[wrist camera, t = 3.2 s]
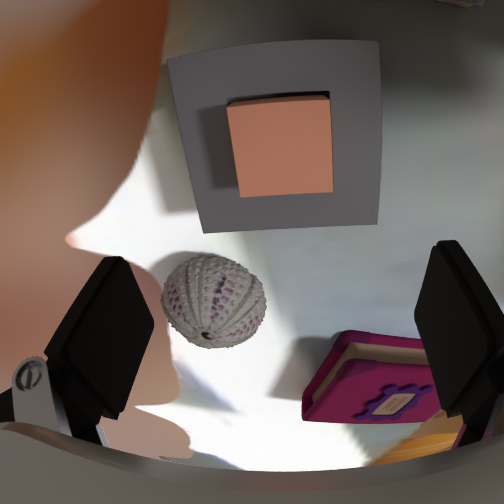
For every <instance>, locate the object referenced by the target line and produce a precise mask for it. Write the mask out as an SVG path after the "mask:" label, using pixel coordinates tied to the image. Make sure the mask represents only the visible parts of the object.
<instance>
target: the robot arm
mask: <svg viewBox="0 0 504 504" xmlns="http://www.w3.org/2000/svg"><path fill="white" fill-rule="evenodd" d="M414 319H415V323H416V326H417V329H418V332H419V334H420V337H421V340H422V344H423V347H424V350H425V353H426V356H427V359H428V363H429V366H430V369H431V373H432V376H433V380H434V383H435V387H436V391H437V395H438V398H439V402H440V406H441V408H442V409H443V410H446V413H447V417H448V418H450V417H454V416H458V415H462V418H463V422H464V423H463V425H462V427H461V430H460V432H459V434H458V436H457V438H456V440H455V442H454V444H453V446H452V448H451V450H448V451H444V452H440V453H436V454H431V455H427V456H423V457H418V458H414V459H409V460H404V461H398V462H393V463H387V464H380V465H374V466H366V467H358V468H349V469H338V470H324V471H301V472H267V471H244V470H230V469H219V468H210V467H202V466H194V465H187V464H181V463H175V462H169V461H163V460H158V459H153V458H148V457H143V456H139V455H135V454H131V453H126V452H122V451H119V450H115V449H111V448H110V447H109V444H108V442H107V439H106V437H105V434H104V431H103V429H102V426H101V423H100V418H101V416H103V417H106V418H110V419H114V420H117V419H118V416H119V413H121V412H123V410H124V409H125V406H126V403H127V400H128V397H129V394H130V391H131V389H132V386H133V383H134V380H135V377H136V375H137V372H138V369H139V366H140V364H141V361H142V358H143V355H144V353H145V350H146V347H147V345H148V342H149V340H150V337H151V334H152V332H153V329H154V320H153V317H152V315H151V313H150V311H149V308H148V306H147V304H146V302H145V300H144V297H143V295H142V293H141V291H140V288H139V286H138V284H137V281H136V279H135V277H134V274H133V272H132V270H131V267H130V265H129V263H128V262H127V261H126V260H124V258H123V257H121V256H112V257H104V259H102V261H101V262H100V264H99V265H98V266H97V268H96V269H95V271H94V272H93V274H92V275H91V276H90V278H89V280H88V281H87V283H86V284H85V286H84V287H83V288H82V290H81V291H80V293H79V294H78V296H77V298H76V299H75V301H74V302H73V304H72V305H71V307H70V309H69V310H68V312H67V314H66V315H65V317H64V318H63V320H62V322H61V323H60V325H59V326H58V328H57V330H56V332H55V333H54V335H53V337H52V338H51V340H50V342H49V344H48V345H47V347H46V349H45V351H44V353H45V355H46V356H47V357H48V360H47V361H46V362H45V360H44V359H43V358H41V357H38V356H35V357H34V356H33V357H30V358H27V359H26V360H24V361H23V362H21V364H20V365H19V366H18V367H17V368H16V370H15V372H14V374H13V377H12V387H11V388H10V389H8V390H6V391H5V392H3V393H1V394H0V504H504V314H503V312H502V311H501V309H500V307H499V305H498V303H497V302H496V300H495V298H494V297H493V295H492V293H491V292H490V290H489V288H488V287H487V285H486V283H485V282H484V280H483V279H482V277H481V275H480V274H479V272H478V271H477V269H476V268H475V266H474V265H473V263H472V262H471V260H470V259H469V257H468V256H467V254H466V253H465V251H464V250H463V248H462V247H461V246H460V244H459V243H458V242H457V241H456V240H443V241H438V243H437V245H436V246H433V247H432V250H431V254H430V258H429V262H428V266H427V269H426V273H425V277H424V281H423V284H422V288H421V291H420V294H419V298H418V301H417V304H416V307H415V311H414Z"/></svg>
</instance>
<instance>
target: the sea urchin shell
mask: <svg viewBox="0 0 504 504" xmlns="http://www.w3.org/2000/svg"><path fill="white" fill-rule="evenodd" d="M164 284H165V286H164V292H163V294H161V297H162V298H161V300H160V301H161V304H162V308H163V311H164V313H165V315H166V317H167V318H168V322H170V323H171V324H172V326H171V327H174V328H175V329H176V331H178V332H179V333H181V334H182V335H183V336H184V337H185V338H186V339H187V340H188V342H189V343H190V342H191V343H194V344H195V345H197V346H199V347H203V348H207V349H211V348H224V347H226V348H229V347H233V346H234V345H237V344H240V343H243V342H245V341H246V340H248V339H249V338H251V336H253V334H255V333H256V330H258V326H259V325H261V322H262V321H263V318H264V316H265V315H264V314H265V310H266V308H267V306H266V304H265V303H266V298H265V297H264V291H263V287H262V283H261V282H259V280H258V279H257V276H255V275H253V274H250V273H249V272H248V269H246V268H244V267H243V266H241V264H240V263H239V264H236V262H235V261H231V260H225V259H224V258H223V257H220V258H218V257H216V256H215V257H213V258H207V257H204V256H202V257H200V258H195V259H194V258H192V259H191V261H190V262H185V263H184V264H182V265H179V266H178V268H177V269H175V270H173V271H172V274H171V275H169V277H168V278H167V282H166V283H164Z"/></svg>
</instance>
